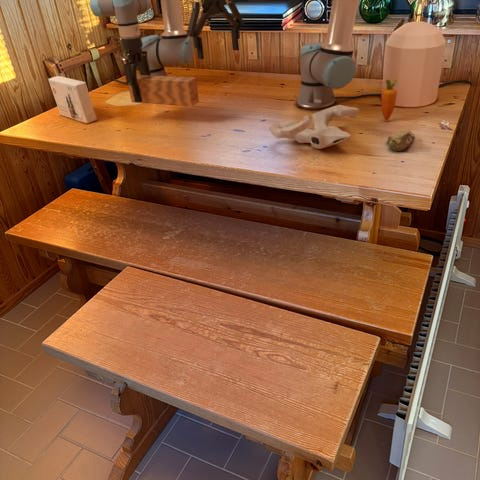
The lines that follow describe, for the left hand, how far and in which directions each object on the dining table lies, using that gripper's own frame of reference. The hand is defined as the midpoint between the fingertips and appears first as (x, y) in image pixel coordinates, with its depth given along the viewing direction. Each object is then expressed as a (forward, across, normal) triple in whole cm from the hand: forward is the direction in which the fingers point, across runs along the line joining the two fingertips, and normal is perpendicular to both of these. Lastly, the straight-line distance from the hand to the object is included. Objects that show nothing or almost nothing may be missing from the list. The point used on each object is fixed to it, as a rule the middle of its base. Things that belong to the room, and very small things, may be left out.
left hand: (142, 99), depth 184 cm
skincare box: (+8, -6, +32) cm, 33 cm away
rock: (+8, -3, -101) cm, 101 cm away
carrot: (+8, +18, -92) cm, 94 cm away
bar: (+1, 0, -10) cm, 10 cm away
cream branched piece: (+8, -9, -76) cm, 77 cm away
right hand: (-20, -8, -41) cm, 46 cm away
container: (+8, +44, -96) cm, 106 cm away
